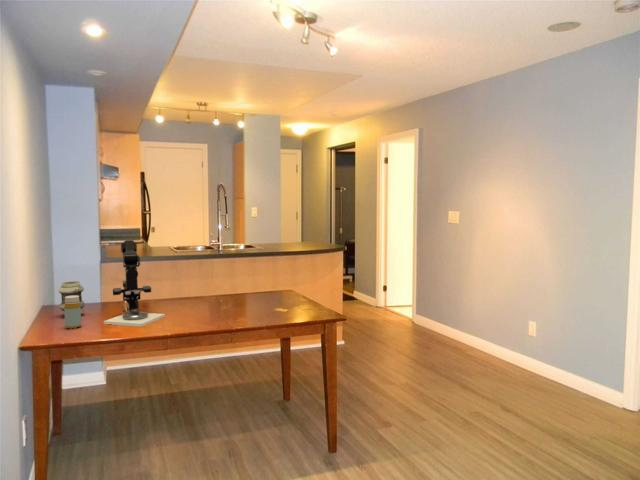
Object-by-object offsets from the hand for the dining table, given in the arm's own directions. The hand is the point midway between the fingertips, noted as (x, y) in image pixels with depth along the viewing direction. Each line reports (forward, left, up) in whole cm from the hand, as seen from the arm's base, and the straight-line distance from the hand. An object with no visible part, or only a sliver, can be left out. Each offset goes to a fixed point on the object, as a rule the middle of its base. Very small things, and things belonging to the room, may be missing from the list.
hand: (132, 306), depth 262 cm
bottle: (-14, -27, -5) cm, 31 cm away
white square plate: (+7, -8, -5) cm, 12 cm away
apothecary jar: (-31, -7, -5) cm, 33 cm away
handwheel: (+4, -6, -3) cm, 8 cm away
